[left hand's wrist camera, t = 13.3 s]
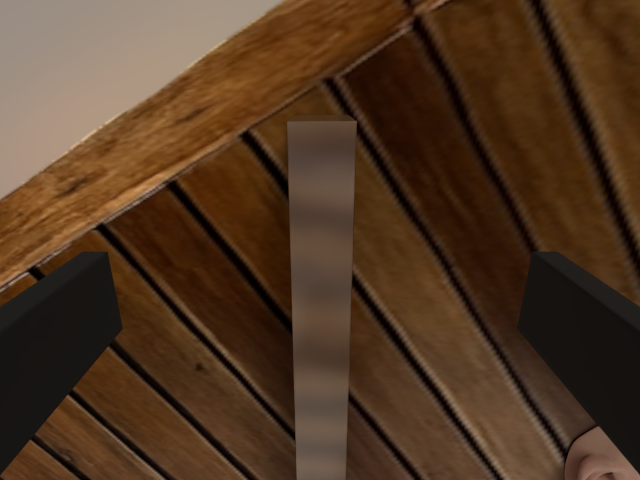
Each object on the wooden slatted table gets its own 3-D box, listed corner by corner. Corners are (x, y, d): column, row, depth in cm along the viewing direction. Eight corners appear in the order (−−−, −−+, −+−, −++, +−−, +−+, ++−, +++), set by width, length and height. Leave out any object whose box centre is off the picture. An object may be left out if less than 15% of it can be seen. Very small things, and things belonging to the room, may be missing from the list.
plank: (294, 114, 35) (286, 121, 27) (348, 114, 35) (356, 121, 27) (302, 497, 51) (299, 570, 43) (339, 497, 51) (343, 570, 43)
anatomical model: (633, 433, 42) (713, 470, 44) (607, 405, 46) (682, 440, 47) (552, 512, 46) (629, 543, 48) (535, 481, 50) (607, 510, 52)
